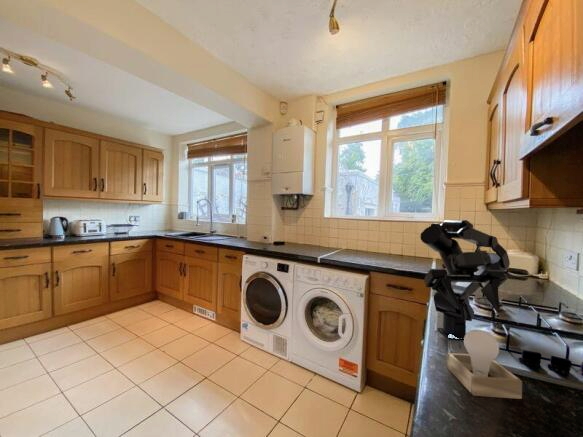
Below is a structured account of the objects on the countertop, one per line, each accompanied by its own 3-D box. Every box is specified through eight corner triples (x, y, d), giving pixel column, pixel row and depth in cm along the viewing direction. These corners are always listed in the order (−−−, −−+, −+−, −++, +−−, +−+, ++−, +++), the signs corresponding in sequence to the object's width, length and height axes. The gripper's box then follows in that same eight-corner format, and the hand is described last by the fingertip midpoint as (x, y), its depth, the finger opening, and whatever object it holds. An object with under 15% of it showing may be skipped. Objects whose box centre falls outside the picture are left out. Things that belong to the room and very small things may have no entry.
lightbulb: (464, 368, 57) (464, 322, 57) (497, 380, 54) (498, 330, 54) (462, 381, 53) (463, 331, 53) (498, 395, 49) (500, 340, 49)
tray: (446, 367, 58) (447, 352, 58) (487, 369, 57) (487, 355, 57) (473, 395, 49) (473, 378, 49) (521, 398, 48) (522, 381, 48)
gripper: (429, 239, 66) (452, 292, 55) (502, 240, 64) (541, 295, 53) (416, 262, 74) (434, 313, 63) (481, 263, 72) (511, 315, 61)
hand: (478, 309), depth 60 cm, fingers open, 9 cm apart
